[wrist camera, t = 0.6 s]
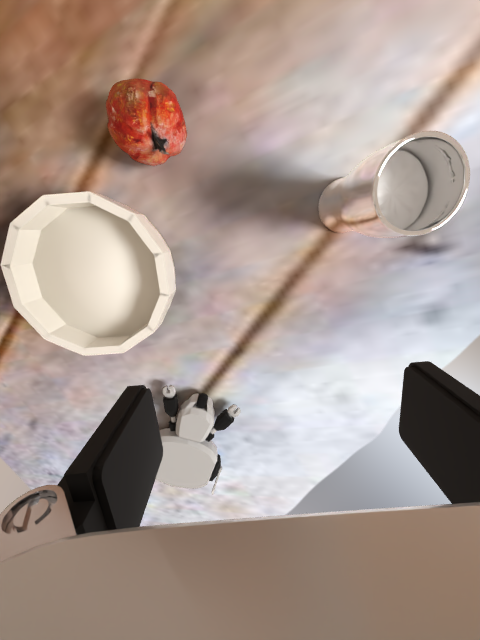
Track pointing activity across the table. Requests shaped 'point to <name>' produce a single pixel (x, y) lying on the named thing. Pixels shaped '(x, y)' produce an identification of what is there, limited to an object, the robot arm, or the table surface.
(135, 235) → the fruit bowl
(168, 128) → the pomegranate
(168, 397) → the robot toy
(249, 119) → the table surface
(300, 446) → the table surface
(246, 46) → the table surface
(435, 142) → the beer glass
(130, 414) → the robot arm
